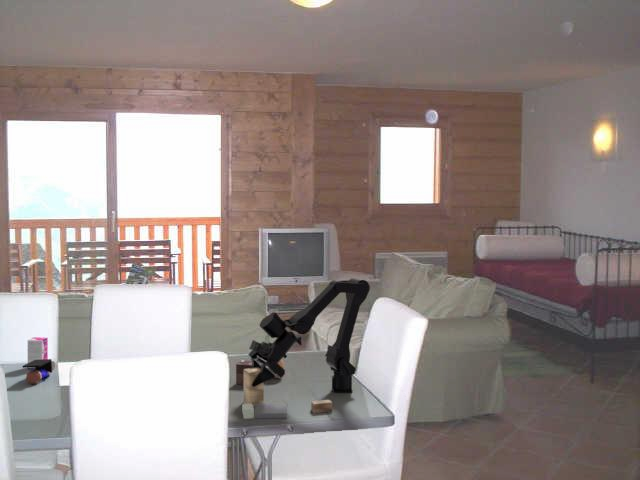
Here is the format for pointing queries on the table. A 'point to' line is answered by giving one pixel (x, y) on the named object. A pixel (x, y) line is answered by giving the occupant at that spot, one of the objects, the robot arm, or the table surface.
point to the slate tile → (270, 410)
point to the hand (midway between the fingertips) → (249, 383)
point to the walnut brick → (321, 406)
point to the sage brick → (248, 410)
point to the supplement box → (37, 349)
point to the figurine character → (39, 370)
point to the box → (241, 370)
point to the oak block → (251, 392)
